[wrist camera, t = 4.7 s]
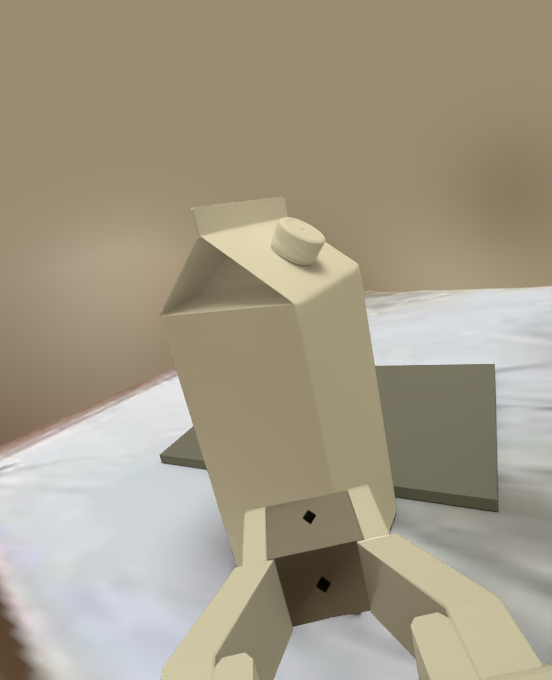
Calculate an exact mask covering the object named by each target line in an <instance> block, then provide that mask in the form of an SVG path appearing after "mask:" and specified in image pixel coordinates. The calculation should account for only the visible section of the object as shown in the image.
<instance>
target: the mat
mask: <svg viewBox="0 0 552 680" xmlns="http://www.w3.org/2000/svg"><path fill="white" fill-rule="evenodd" d="M375 370H376V377H377V383H378V390H379V396H380V403H381V409H382V416H383V422H384V429H385V435H386V442H387V448H388V455H389V461H390V468H391V474H392V481H393V487H394V494H395V497H401V498H408V499H415V500H422V501H428V502H435V503H442V504H449V505H456V506H463V507H470V508H476V509H483V510H490V511H497V512H498V476H497V434H496V393H495V364H464V365H403V366H375ZM160 458H161V461H162V463H168V464H175V465H182V466H188V467H195V468H202V469H207V468H206V465H205V461H204V458H203V455H202V452H201V448H200V445H199V442H198V439H197V435H196V432H195V429H194V426H193V427H192V428H191V429H190V430H188V431H187V432H186V433H185V434H184V435H183V436H181V437H180V438H179V439H178V440H177V441H175V442H174V443H173V444H172V445H171V446H170V447H168V448H167V449H166V450H165V451H164V452H162V453H161V454H160Z"/></svg>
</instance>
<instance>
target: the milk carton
mask: <svg viewBox="0 0 552 680" xmlns="http://www.w3.org/2000/svg"><path fill="white" fill-rule="evenodd" d="M191 213H192V217H193V221H194V225H195V228H196V232H197V236H198V238H197V240H196V242H195V244H194V246H193V248H192V250H191V253H190V254H189V257H188V258H187V260H186V263H185V265H184V267H183V269H182V271H181V273H180V275H179V277H178V279H177V281H176V283H175V285H174V287H173V289H172V291H171V293H170V296H169V297H168V299H167V301H166V303H165V306H164V308H163V310H162V312H161V314H160V316H159V317H160V319H161V322H162V325H163V328H164V332H165V335H166V338H167V341H168V345H169V348H170V351H171V354H172V357H173V361H174V364H175V367H176V371H177V374H178V377H179V380H180V384H181V387H182V390H183V393H184V397H185V400H186V403H187V406H188V410H189V413H190V416H191V419H192V423H193V426H194V429H195V432H196V435H197V439H198V442H199V445H200V448H201V452H202V455H203V458H204V461H205V465H206V468H207V471H208V474H209V478H210V481H211V484H212V487H213V491H214V494H215V497H216V500H217V504H218V507H219V510H220V513H221V517H222V520H223V523H224V526H225V529H226V533H227V536H228V539H229V542H230V546H231V549H232V552H233V555H234V559H235V562H236V565H237V567H241V564H242V544H243V524H244V514H245V512H246V511H248V510H252V509H257V508H262V507H266V506H271V505H277V504H282V503H287V502H292V501H298V500H303V499H309V498H313V497H318V496H322V495H327V494H331V493H336V492H340V491H345V490H347V489H350V488H355V487H359V486H363V485H368V486H369V488H370V490H371V492H372V495H373V497H374V499H375V501H376V504H377V506H378V508H379V511H380V513H381V515H382V518H383V520H384V522H385V525H386V527H387V529H388V531H390V528H391V525H392V523H393V520H394V517H395V514H396V508H397V507H396V500H395V494H394V487H393V481H392V474H391V468H390V461H389V455H388V448H387V442H386V435H385V429H384V422H383V416H382V409H381V403H380V396H379V390H378V383H377V377H376V370H375V364H374V357H373V351H372V344H371V338H370V331H369V325H368V318H367V312H366V305H365V299H364V293H363V286H362V280H361V275H360V270H359V266H358V264H357V263H355V262H354V261H353V260H352V259H350V258H348V257H347V256H345V255H344V254H342V253H341V252H339V251H338V250H336V249H335V248H333V247H332V246H330V245H329V244H327V243H326V242H325V238H324V236H323V235H322V234H321V233H320V232H319V231H318V230H317V229H315V228H314V227H312V226H311V225H309V224H307V223H305V222H303V221H301V220H298V219H295V218H289V217H288V216H287V210H286V205H285V200H284V197H276V198H267V199H259V200H251V201H243V202H234V203H225V204H217V205H208V206H200V207H194V208H191Z"/></svg>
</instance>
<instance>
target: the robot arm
mask: <svg viewBox="0 0 552 680" xmlns="http://www.w3.org/2000/svg"><path fill="white" fill-rule="evenodd" d="M370 610H371V613H372V614H373V615H374V616H375V617H376V618H377V619H378V620H379V621H380V622H381V623H382V625H383V626H384V627H385V628H386V629H387V630H388V631H389V632H390V633H391V634H392V635H393V636H394V637H395V638H396V639H397V640H398V641H399V642H400V643H401V644H402V645H403V646H404V647H405V649H406V650H407V651H408V652H409V653H410V654H411V655H412V656H413V657H414V658H415V659H416V663H417V670H418V676H419V680H552V664H550V665H545V666H543V665H542V663H541V662H540V660H539V659H538V657H537V655H536V654H535V652H534V651H533V649H532V648H531V646H530V645H529V643H528V642H527V640H526V639H525V637H524V635H523V634H522V632H521V631H520V629H519V628H518V626H517V625H516V623H515V622H514V620H513V619H512V617H511V615H510V614H509V612H508V611H507V609H506V608H505V606H504V605H503V603H502V602H501V600H500V599H499V597H497V596H495V595H494V594H492V593H491V592H489V591H487V590H486V589H484V588H483V587H481V586H479V585H478V584H476V583H475V582H473V581H471V580H470V579H468V578H467V577H465V576H464V575H462V574H460V573H459V572H457V571H456V570H454V569H452V568H451V567H449V566H448V565H446V564H444V563H443V562H441V561H440V560H438V559H436V558H435V557H433V556H432V555H430V554H428V553H427V552H425V551H424V550H422V549H421V548H419V547H417V546H416V545H414V544H413V543H411V542H409V541H408V540H406V539H405V538H403V537H401V536H400V535H398V534H397V533H395V534H389V531H388V529H387V527H386V525H385V522H384V520H383V518H382V515H381V513H380V511H379V508H378V506H377V504H376V501H375V499H374V497H373V495H372V492H371V490H370V488H369V486H368V485H363V486H359V487H355V488H350V489H347V490H345V491H340V492H336V493H331V494H327V495H322V496H318V497H313V498H309V499H303V500H298V501H292V502H287V503H282V504H277V505H271V506H266V507H262V508H257V509H252V510H248V511H246V512H245V514H244V524H243V544H242V564H241V567H236V568H235V569H234V570H233V571H232V573H231V574H230V576H229V577H228V578H227V580H226V581H225V582H224V584H223V585H222V587H221V588H220V589H219V591H218V592H217V594H216V595H215V596H214V598H213V599H212V600H211V602H210V603H209V605H208V606H207V607H206V609H205V610H204V612H203V613H202V614H201V616H200V617H199V618H198V620H197V621H196V623H195V624H194V625H193V627H192V628H191V630H190V631H189V632H188V634H187V635H186V637H185V638H184V639H183V641H182V642H181V643H180V645H179V646H178V648H177V649H176V650H175V652H174V653H173V655H172V656H171V657H170V659H169V660H168V661H167V663H166V664H165V666H164V667H163V671H162V676H161V680H273V679H274V677H275V674H276V672H277V669H278V667H279V664H280V662H281V659H282V657H283V654H284V651H285V649H286V646H287V644H288V641H289V639H290V636H291V634H292V631H293V627H294V626H298V625H302V624H306V623H310V622H315V621H319V620H323V619H327V618H331V617H337V616H342V615H348V614H353V613H359V612H365V611H370Z"/></svg>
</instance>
